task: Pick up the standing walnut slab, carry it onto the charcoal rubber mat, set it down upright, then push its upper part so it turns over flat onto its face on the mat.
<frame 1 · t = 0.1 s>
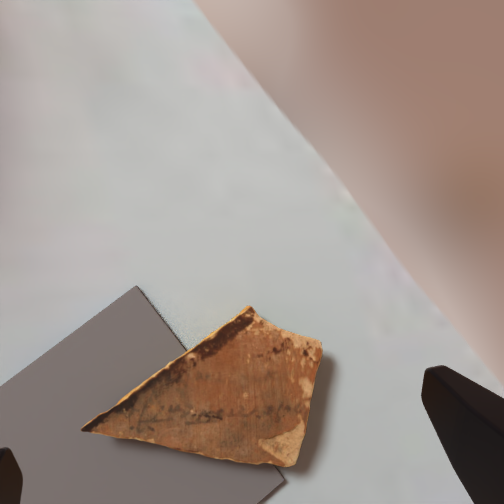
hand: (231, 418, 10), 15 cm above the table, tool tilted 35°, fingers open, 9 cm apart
shard: (225, 410, 24), on the table, touching mat
mat: (117, 455, 23), on the table
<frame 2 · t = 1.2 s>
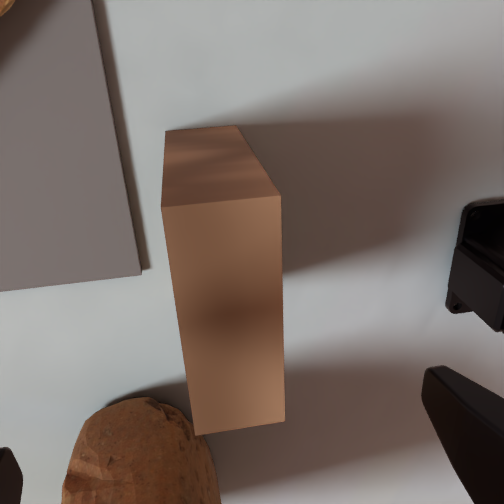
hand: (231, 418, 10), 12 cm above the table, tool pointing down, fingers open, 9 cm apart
brown oblong lump: (149, 449, 27), on the table
slab: (209, 214, 21), on the table
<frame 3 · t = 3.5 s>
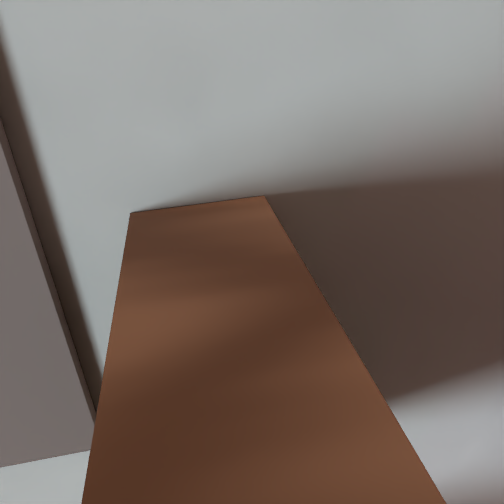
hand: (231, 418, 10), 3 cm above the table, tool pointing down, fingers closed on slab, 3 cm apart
slab: (217, 344, 12), on the table, touching gripper
when the fingers open (3 cm above the table, at t = 6.9 s): slab stays where it is, resting on mat.
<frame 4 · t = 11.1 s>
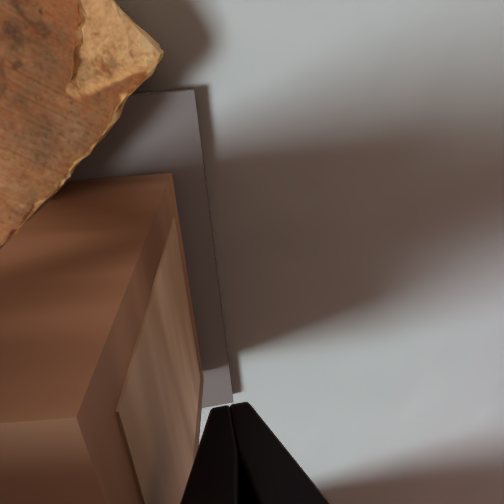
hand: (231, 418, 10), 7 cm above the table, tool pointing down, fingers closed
shard: (18, 113, 12), on the table, touching mat
slab: (144, 292, 15), point 1 cm above the table, tilted 7°, touching gripper, mat
mat: (22, 297, 15), on the table
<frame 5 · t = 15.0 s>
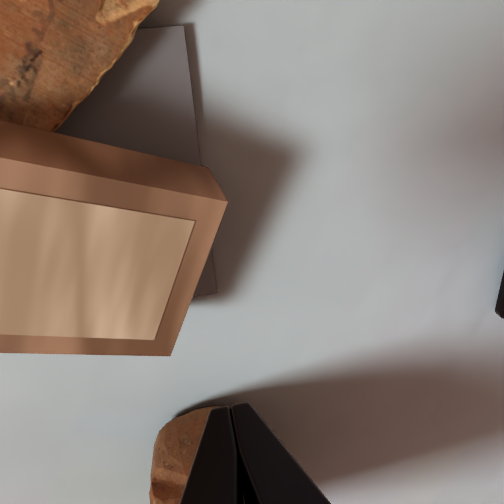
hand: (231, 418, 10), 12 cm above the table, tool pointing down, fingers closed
shard: (56, 39, 16), on the table, touching mat, slab
brown oblong lump: (213, 454, 29), on the table
slab: (188, 265, 19), point 2 cm above the table, tilted 79°, touching shard, mat
mat: (51, 193, 19), on the table
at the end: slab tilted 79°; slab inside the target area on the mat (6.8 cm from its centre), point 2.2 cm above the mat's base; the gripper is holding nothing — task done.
